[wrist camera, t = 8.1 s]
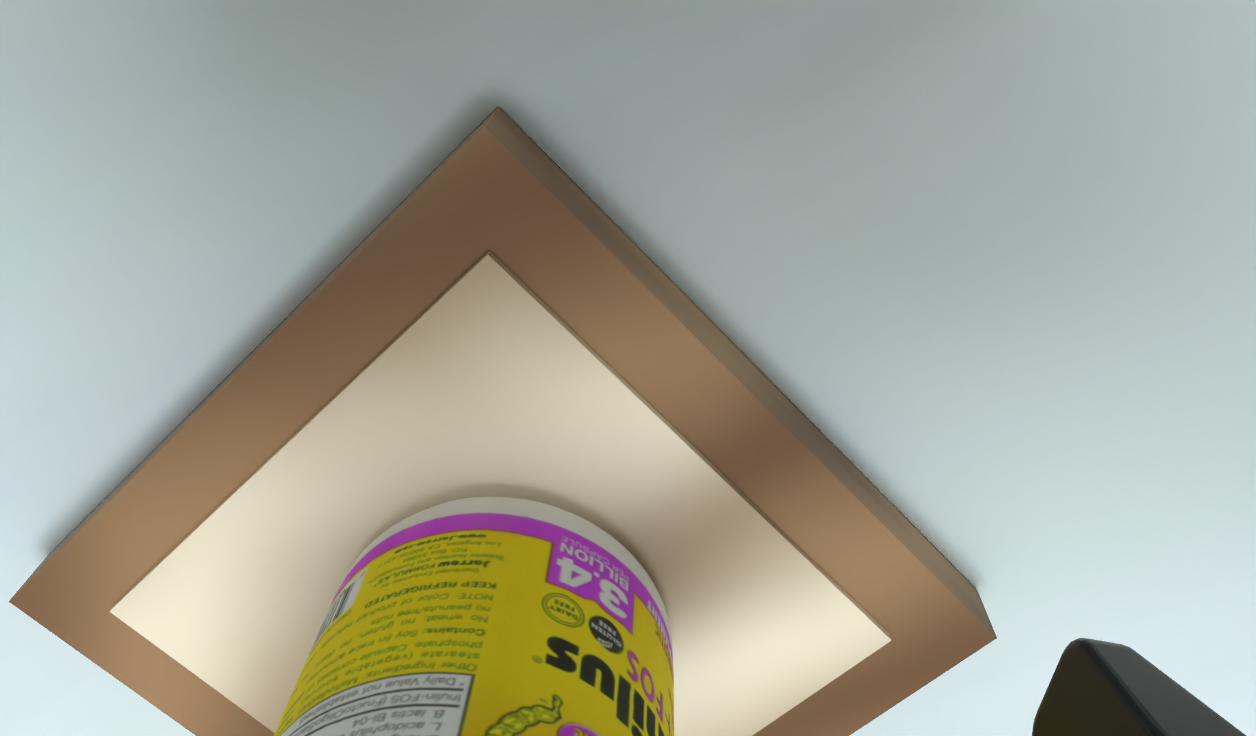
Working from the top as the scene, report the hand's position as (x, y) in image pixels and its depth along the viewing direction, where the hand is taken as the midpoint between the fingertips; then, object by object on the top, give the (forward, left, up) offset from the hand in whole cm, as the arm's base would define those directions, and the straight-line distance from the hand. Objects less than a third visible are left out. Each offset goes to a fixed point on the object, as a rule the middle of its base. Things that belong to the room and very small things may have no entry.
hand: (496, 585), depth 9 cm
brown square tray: (-5, +8, -13) cm, 16 cm away
